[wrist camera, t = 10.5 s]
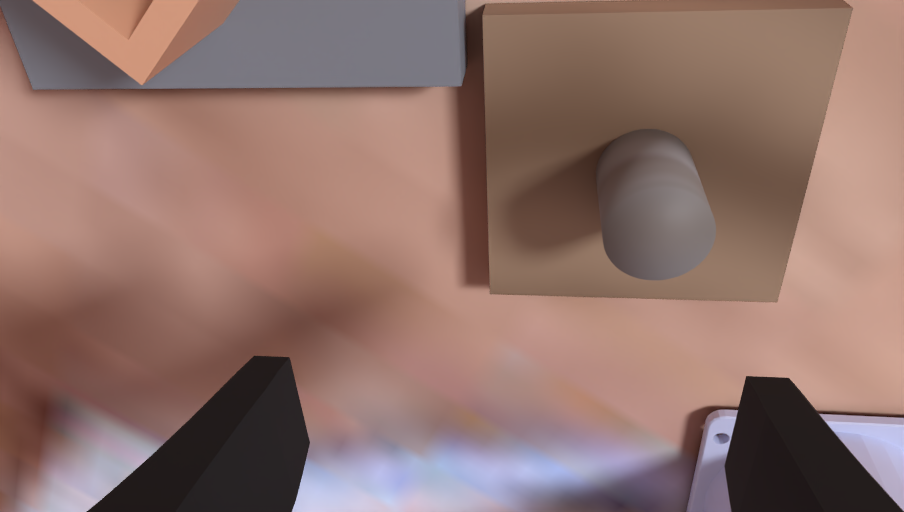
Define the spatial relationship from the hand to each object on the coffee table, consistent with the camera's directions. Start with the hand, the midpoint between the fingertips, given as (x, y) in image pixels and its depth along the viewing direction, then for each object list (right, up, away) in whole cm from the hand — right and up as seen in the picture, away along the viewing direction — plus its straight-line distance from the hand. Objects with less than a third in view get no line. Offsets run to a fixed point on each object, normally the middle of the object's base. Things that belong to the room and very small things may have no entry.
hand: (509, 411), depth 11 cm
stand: (+4, +5, +7) cm, 10 cm away
